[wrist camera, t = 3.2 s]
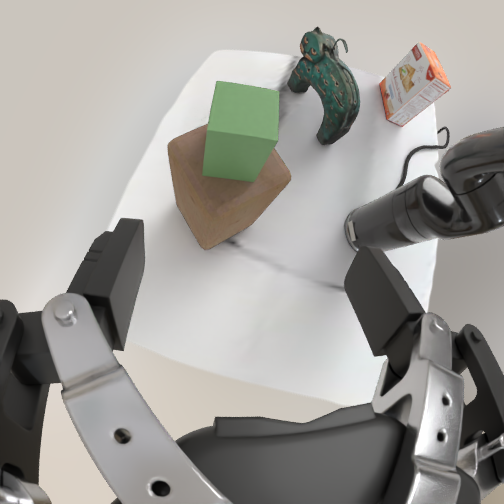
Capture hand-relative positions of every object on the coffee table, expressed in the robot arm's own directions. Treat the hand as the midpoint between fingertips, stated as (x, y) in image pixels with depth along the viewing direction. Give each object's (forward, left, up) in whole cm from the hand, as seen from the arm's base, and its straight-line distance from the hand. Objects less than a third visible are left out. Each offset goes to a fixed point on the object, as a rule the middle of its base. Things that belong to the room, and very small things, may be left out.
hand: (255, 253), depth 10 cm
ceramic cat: (-36, -22, -35) cm, 54 cm away
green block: (-7, -10, -15) cm, 19 cm away
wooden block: (-7, -10, -35) cm, 37 cm away
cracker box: (-63, -18, -35) cm, 74 cm away
